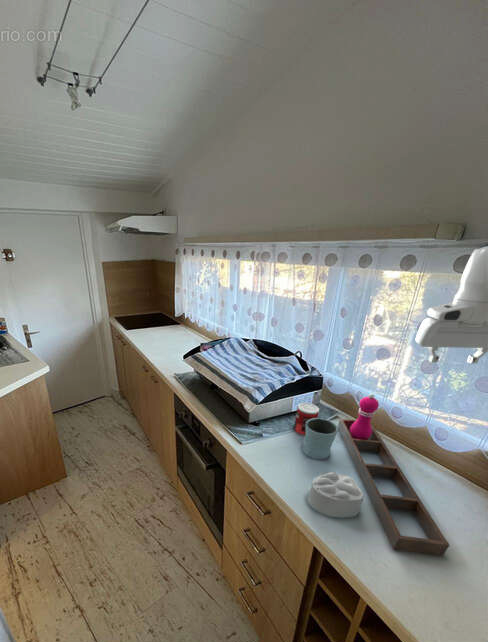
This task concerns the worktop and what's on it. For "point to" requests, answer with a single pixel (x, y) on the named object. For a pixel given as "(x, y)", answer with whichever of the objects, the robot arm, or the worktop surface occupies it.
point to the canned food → (304, 416)
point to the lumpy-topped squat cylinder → (335, 495)
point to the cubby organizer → (382, 503)
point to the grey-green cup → (319, 437)
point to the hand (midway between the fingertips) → (452, 362)
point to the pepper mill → (364, 418)
